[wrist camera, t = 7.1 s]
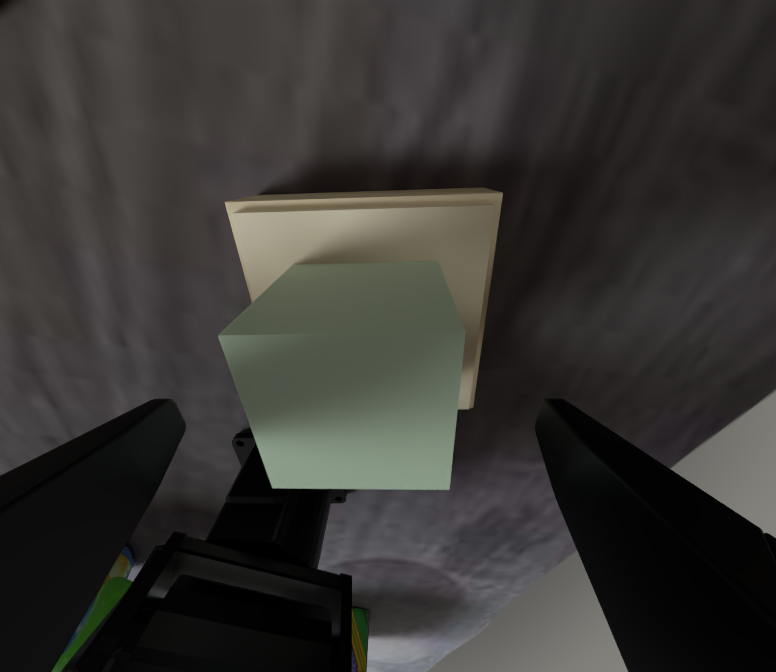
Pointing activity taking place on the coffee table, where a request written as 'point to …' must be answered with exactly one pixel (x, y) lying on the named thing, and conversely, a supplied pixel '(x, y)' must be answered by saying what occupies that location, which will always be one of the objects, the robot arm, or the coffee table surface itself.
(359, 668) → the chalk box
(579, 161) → the coffee table surface
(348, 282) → the sage cube
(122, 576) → the snack cup
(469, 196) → the oak riser block
